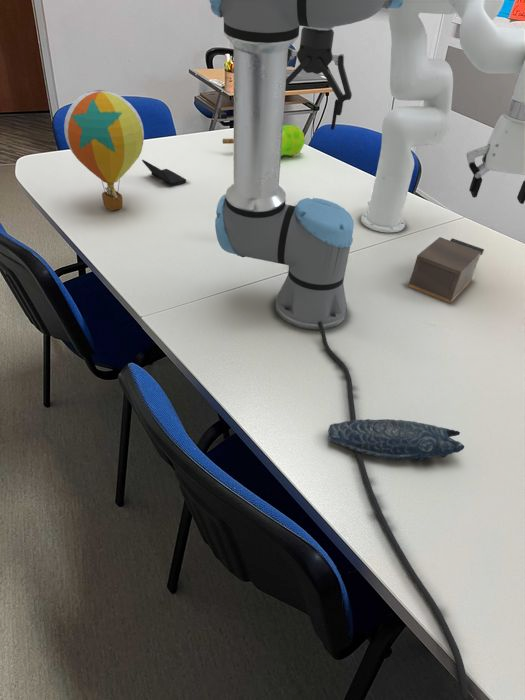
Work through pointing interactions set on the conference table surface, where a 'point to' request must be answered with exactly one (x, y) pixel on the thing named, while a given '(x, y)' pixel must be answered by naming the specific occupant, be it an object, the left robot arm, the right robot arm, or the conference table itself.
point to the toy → (105, 138)
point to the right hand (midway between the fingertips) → (496, 198)
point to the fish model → (395, 438)
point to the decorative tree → (286, 140)
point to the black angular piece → (165, 175)
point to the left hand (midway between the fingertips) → (306, 124)
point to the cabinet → (444, 269)
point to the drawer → (468, 245)
